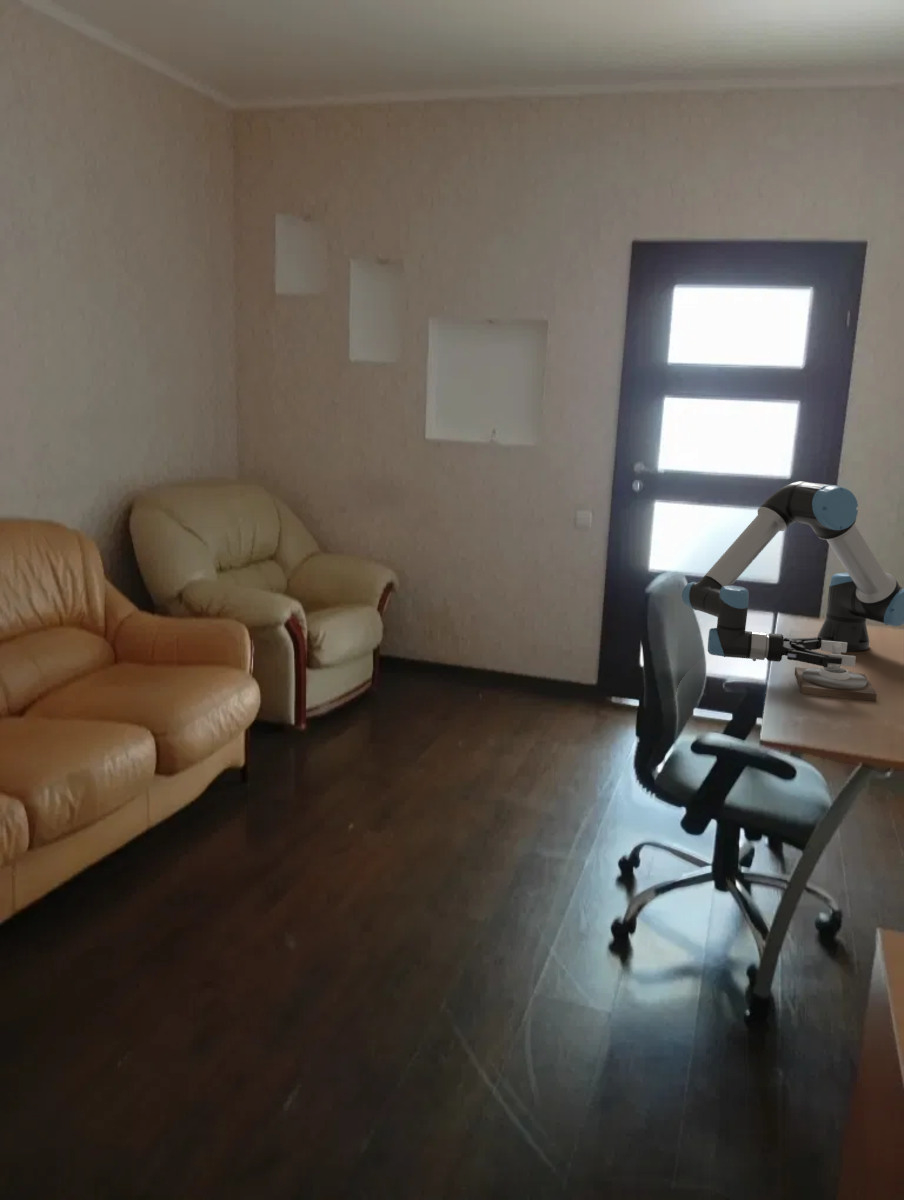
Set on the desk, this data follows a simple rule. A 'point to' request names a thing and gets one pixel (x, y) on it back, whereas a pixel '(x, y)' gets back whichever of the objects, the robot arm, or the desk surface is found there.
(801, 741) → the desk surface
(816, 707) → the desk surface
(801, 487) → the robot arm
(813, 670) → the rosette stand
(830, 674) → the white vr controller
